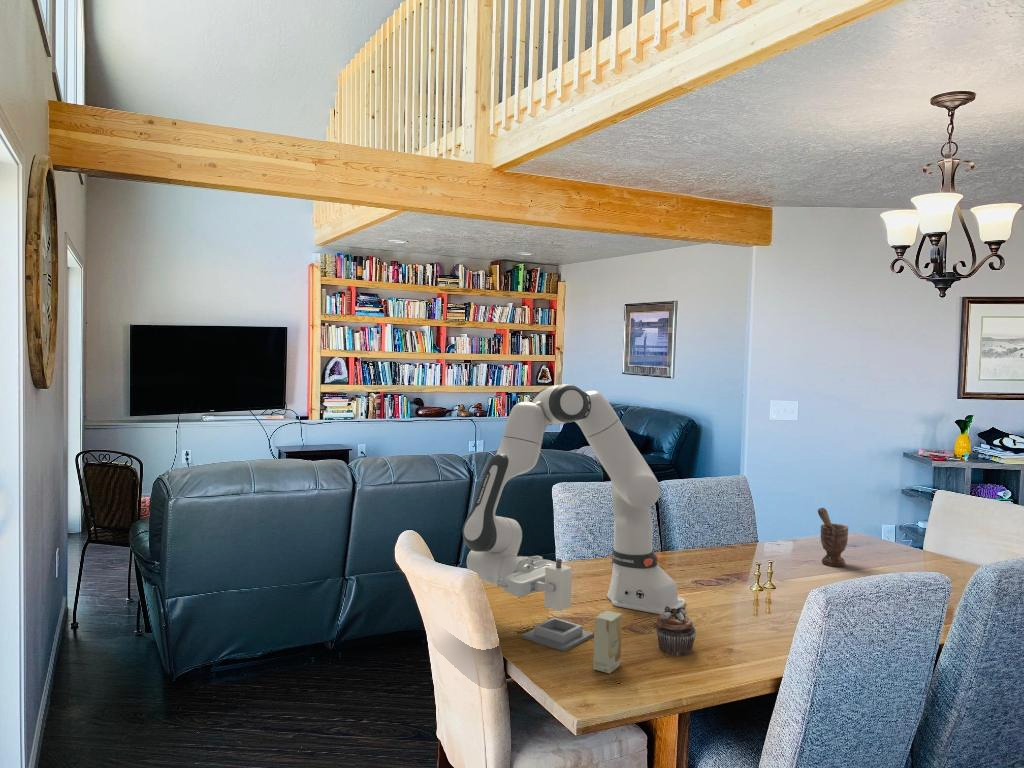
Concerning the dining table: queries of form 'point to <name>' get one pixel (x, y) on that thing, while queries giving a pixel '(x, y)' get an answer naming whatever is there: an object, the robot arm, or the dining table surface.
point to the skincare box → (607, 641)
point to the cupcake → (675, 632)
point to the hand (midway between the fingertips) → (561, 585)
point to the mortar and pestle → (832, 540)
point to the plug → (558, 586)
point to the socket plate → (558, 634)
